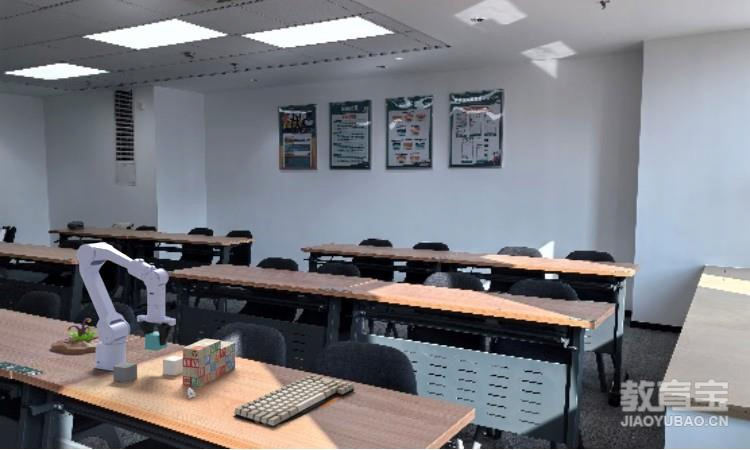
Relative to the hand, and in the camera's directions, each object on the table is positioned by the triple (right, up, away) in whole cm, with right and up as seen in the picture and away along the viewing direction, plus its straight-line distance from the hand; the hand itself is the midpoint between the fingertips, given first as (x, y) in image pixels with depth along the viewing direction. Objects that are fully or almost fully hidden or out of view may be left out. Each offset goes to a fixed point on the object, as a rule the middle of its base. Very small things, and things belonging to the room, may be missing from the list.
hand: (156, 344), depth 194 cm
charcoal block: (-7, -10, -9) cm, 15 cm away
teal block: (0, -1, 0) cm, 1 cm away
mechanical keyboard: (+52, -13, -25) cm, 59 cm away
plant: (-39, -8, +28) cm, 49 cm away
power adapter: (+21, -12, -22) cm, 32 cm away
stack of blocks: (+19, -10, -3) cm, 22 cm away
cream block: (+6, -10, -1) cm, 12 cm away
